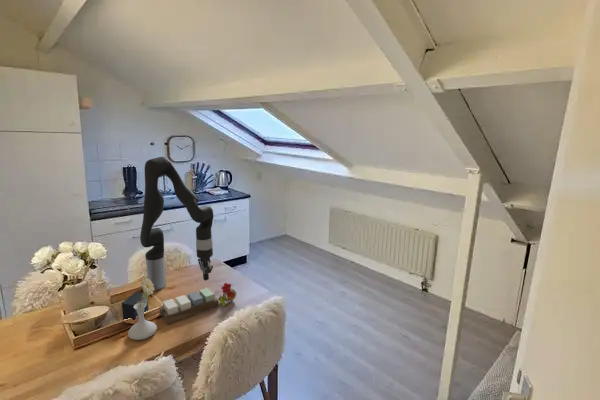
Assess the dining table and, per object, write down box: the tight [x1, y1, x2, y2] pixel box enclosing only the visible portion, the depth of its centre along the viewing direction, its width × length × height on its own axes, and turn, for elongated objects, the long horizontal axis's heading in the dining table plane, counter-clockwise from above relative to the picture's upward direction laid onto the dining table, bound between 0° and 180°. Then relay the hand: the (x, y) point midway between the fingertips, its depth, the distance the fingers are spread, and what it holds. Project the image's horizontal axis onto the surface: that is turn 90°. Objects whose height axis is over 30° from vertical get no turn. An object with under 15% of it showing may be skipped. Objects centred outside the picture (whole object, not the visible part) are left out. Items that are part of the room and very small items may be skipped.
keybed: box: [159, 296, 220, 326], centre depth 163 cm, size 11×25×4 cm, turn 129°
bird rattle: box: [217, 282, 237, 307], centre depth 170 cm, size 6×11×9 cm
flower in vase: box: [127, 277, 158, 341], centre depth 143 cm, size 13×11×25 cm
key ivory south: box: [162, 298, 178, 316], centre depth 157 cm, size 8×4×4 cm, turn 39°
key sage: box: [199, 287, 216, 303], centre depth 168 cm, size 8×4×4 cm, turn 39°
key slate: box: [187, 291, 203, 307], centre depth 164 cm, size 8×4×4 cm, turn 39°
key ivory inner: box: [175, 294, 191, 311], centre depth 161 cm, size 8×4×4 cm, turn 39°
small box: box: [121, 291, 150, 321], centre depth 156 cm, size 11×6×10 cm, turn 168°
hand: (206, 279), depth 166 cm, fingers closed
